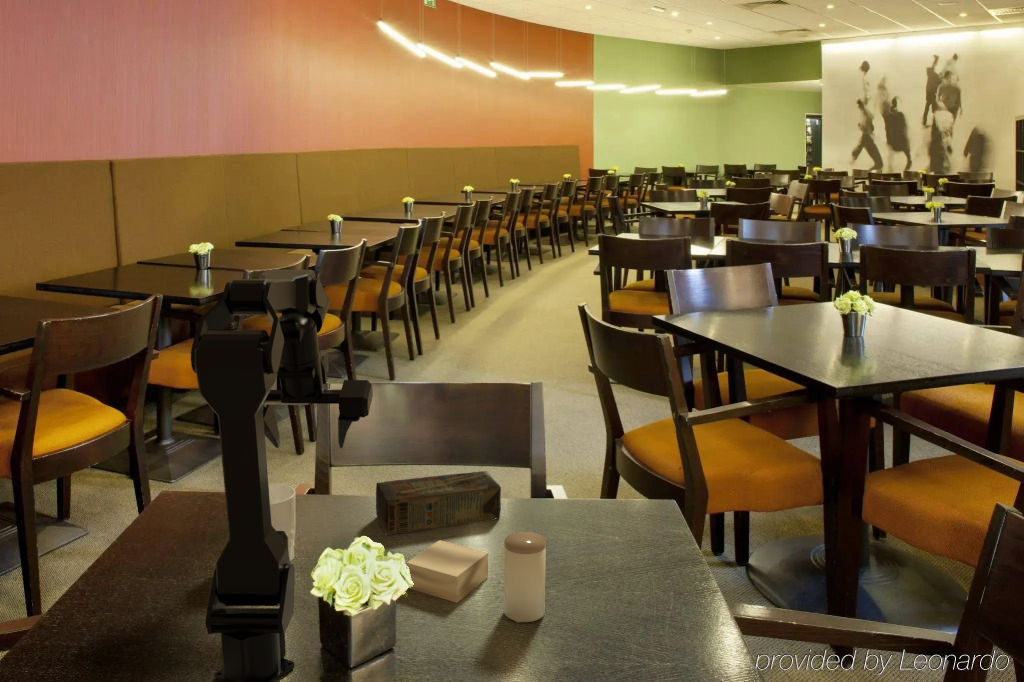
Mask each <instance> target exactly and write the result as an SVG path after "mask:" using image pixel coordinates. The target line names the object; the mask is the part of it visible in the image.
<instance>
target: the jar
mask: <svg viewBox="0 0 1024 682" xmlns="http://www.w3.org/2000/svg"><path fill="white" fill-rule="evenodd" d="M546 545H547V541H546V538H545V537H544V536H543V535H542V534H539V533H538V532H537V533H536V532H533V531H518V532H513V533H510V534H508V535H507V536H505V538H504V553H503V554H504V558H503V559H504V561H503V562H504V567H503V568H504V569H503V570H504V571H503V572H504V574H503V575H504V576H503V577H504V578H503V581H504V582H503V585H504V586H503V613H504V615H505V617H506V618H508V619H510V620H512V621H515V623H516V622H517V623H516V624H519V623H529V622H530V623H532V622H535V621H538V620H540V619H543V618H544V615H545V611H546V610H545V609H546V607H545V606H546V605H545V603H546V556H547V555H546V551H547V550H546V549H547V546H546Z"/></svg>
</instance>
